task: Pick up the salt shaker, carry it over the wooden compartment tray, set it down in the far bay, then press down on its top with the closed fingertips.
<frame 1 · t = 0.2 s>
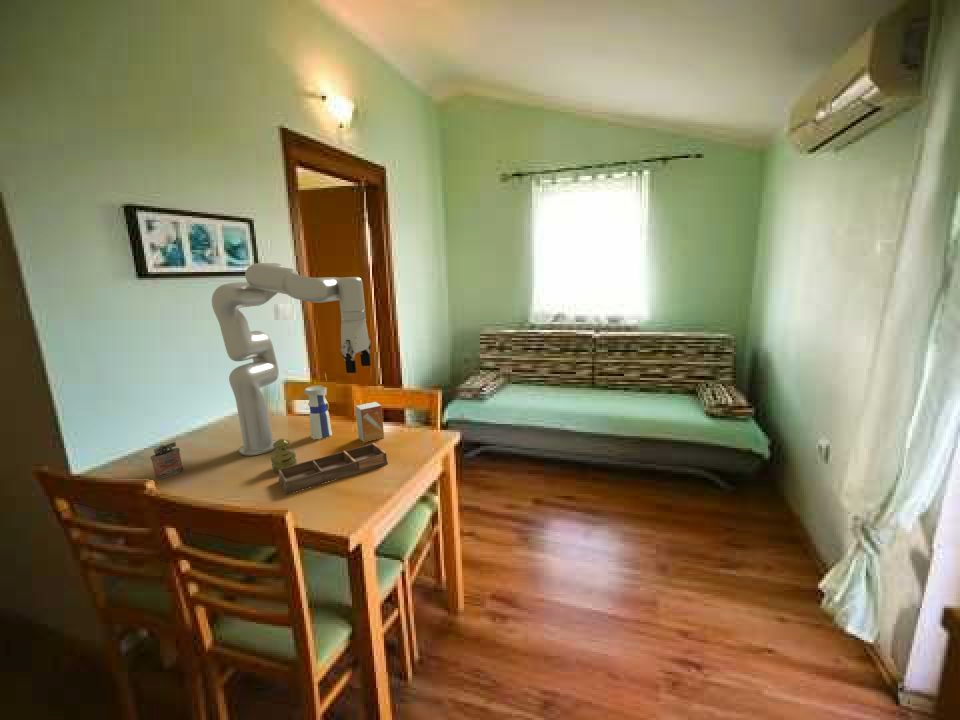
hand: (359, 369, 141), 31 cm above the table, tool pointing down, fingers open, 9 cm apart
lighter: (169, 474, 142), on the table
small box: (371, 438, 165), on the table
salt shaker: (285, 468, 142), on the table
water bottle: (321, 436, 170), on the table
wooden compartment tray: (335, 472, 137), on the table
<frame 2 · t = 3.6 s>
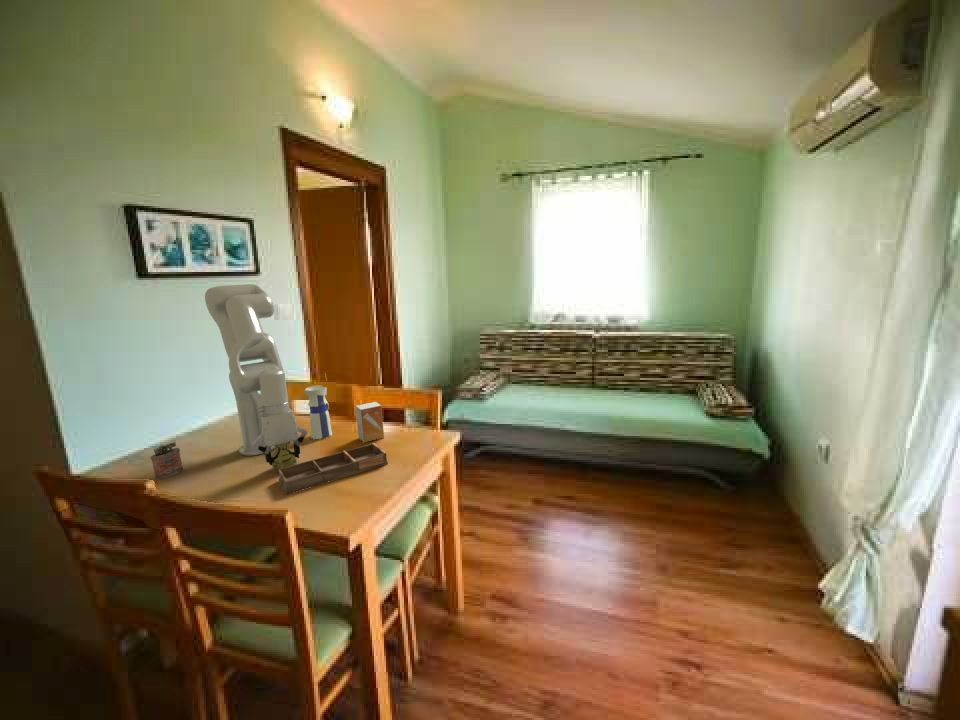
hand: (284, 459, 141), 3 cm above the table, tool pointing down, fingers closed on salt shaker, 7 cm apart
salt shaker: (285, 468, 142), on the table, touching gripper
everything else where it was.
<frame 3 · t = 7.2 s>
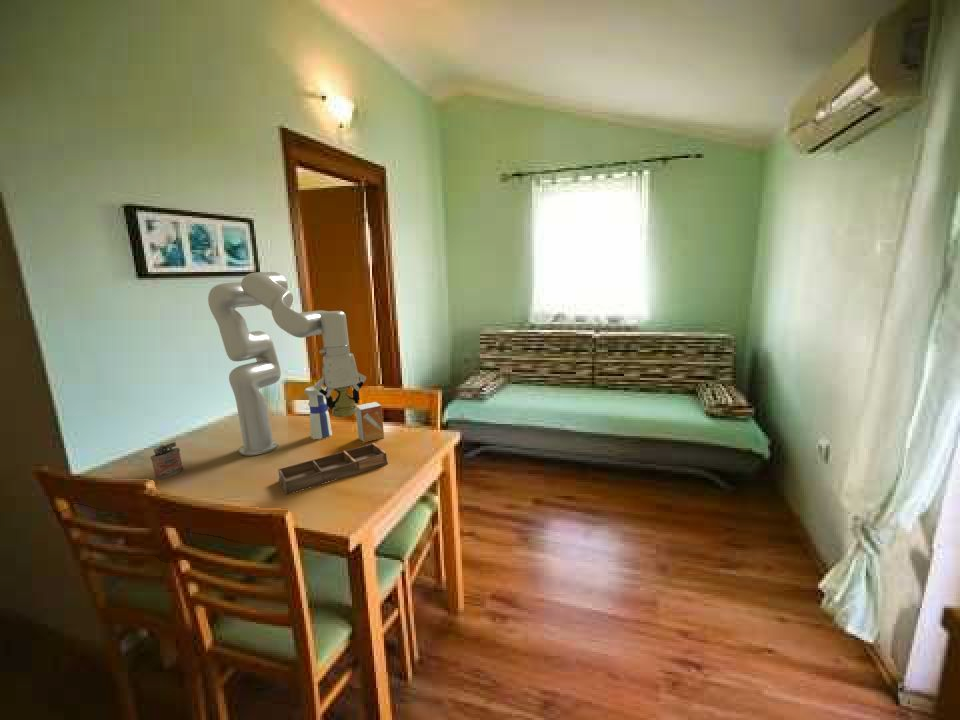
hand: (343, 405, 139), 20 cm above the table, tool pointing down, fingers closed on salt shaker, 7 cm apart
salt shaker: (344, 414, 139), point 17 cm above the table, touching gripper
everything else where it was.
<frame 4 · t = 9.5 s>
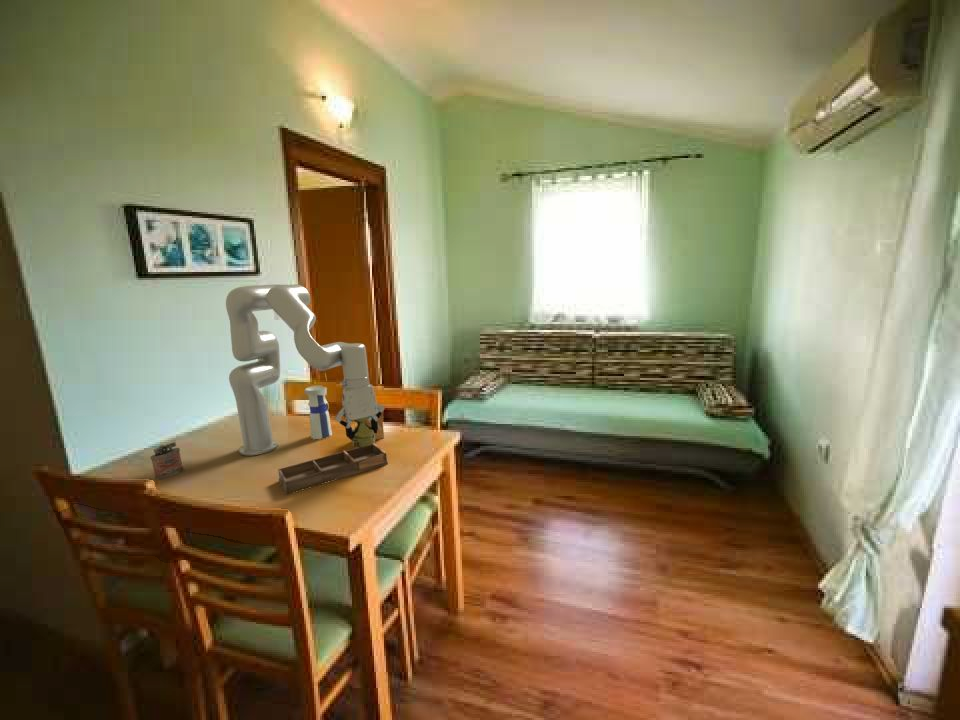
hand: (362, 435, 141), 10 cm above the table, tool pointing down, fingers closed on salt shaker, 7 cm apart
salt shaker: (363, 444, 142), point 7 cm above the table, touching gripper
everything else where it was.
when the fingers open (5 cm above the table, at t = 11.1 s): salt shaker drops 1 cm, resting on wooden compartment tray.
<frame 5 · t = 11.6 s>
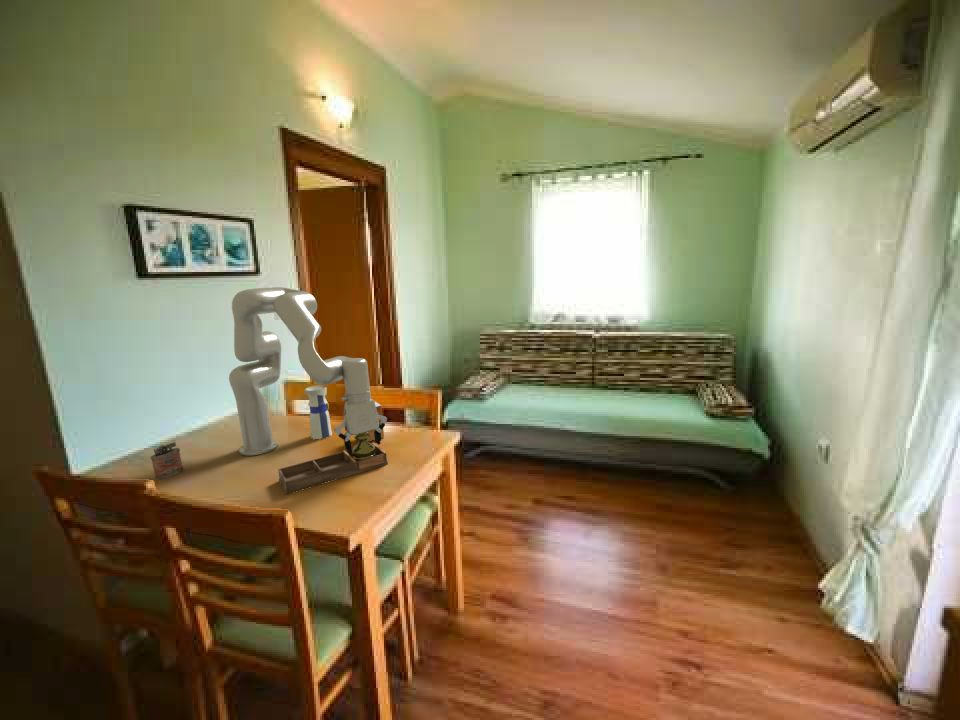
hand: (363, 447, 142), 6 cm above the table, tool pointing down, fingers open, 9 cm apart
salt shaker: (364, 461, 143), point 1 cm above the table, touching wooden compartment tray
everything else where it was.
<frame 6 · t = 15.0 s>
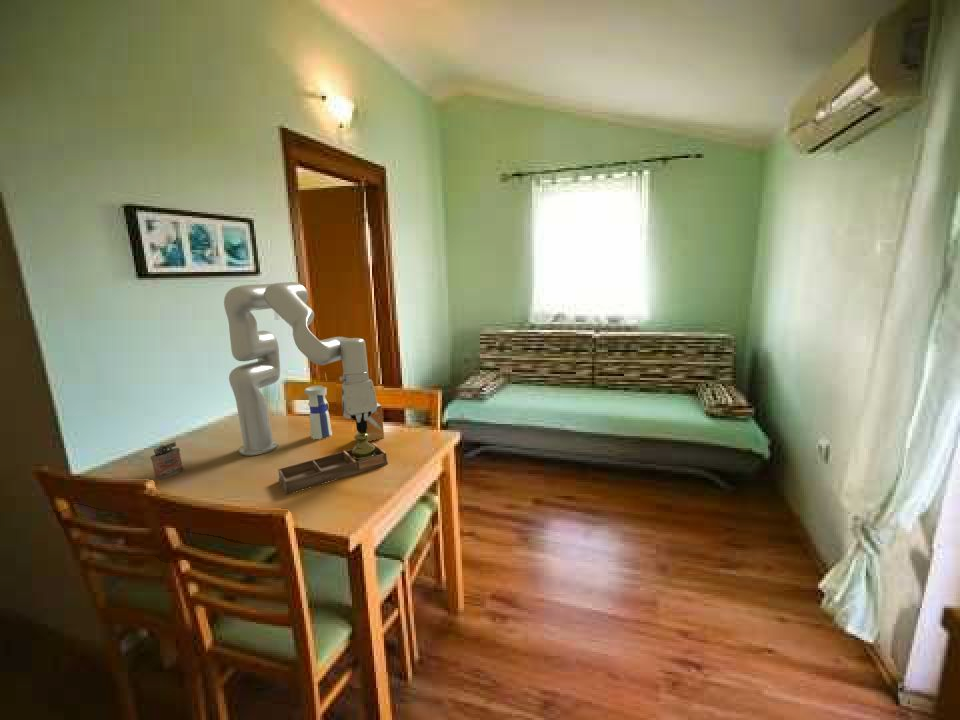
hand: (362, 432, 141), 11 cm above the table, tool pointing down, fingers closed
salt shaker: (364, 461, 143), point 1 cm above the table, touching gripper, wooden compartment tray
everything else where it was.
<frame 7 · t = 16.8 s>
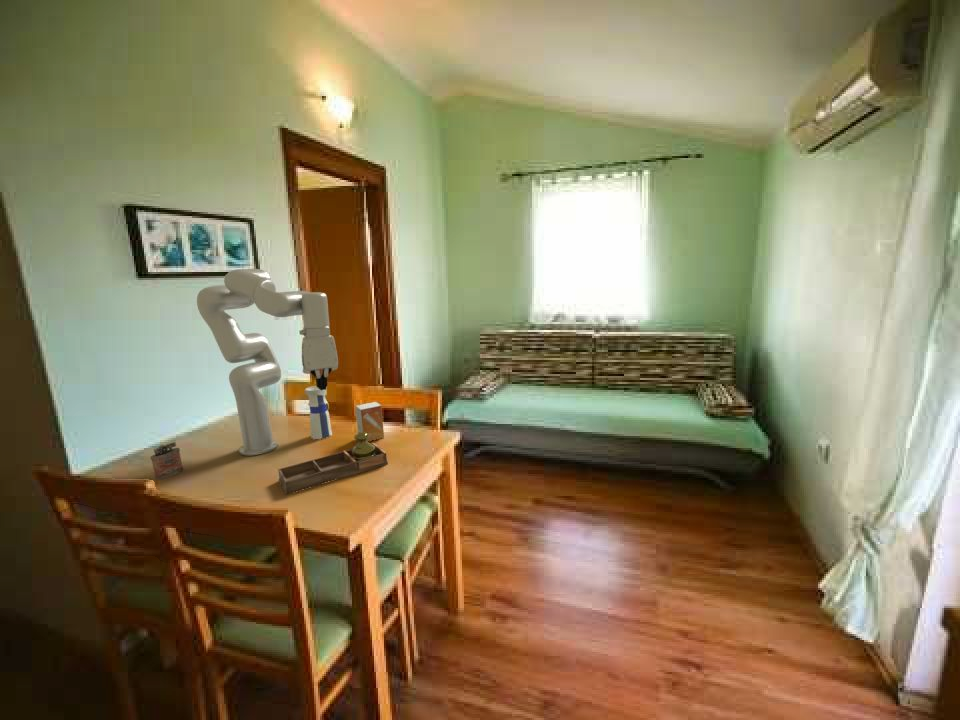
hand: (322, 389, 139), 26 cm above the table, tool pointing down, fingers closed
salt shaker: (364, 461, 143), point 1 cm above the table, touching wooden compartment tray
everything else where it was.
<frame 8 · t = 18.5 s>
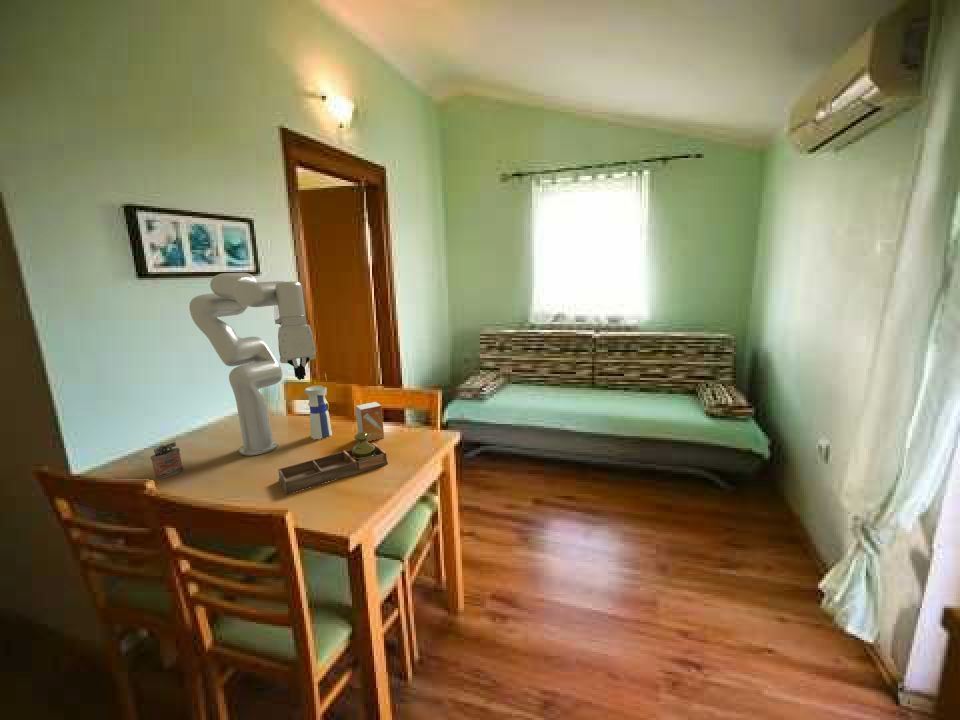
hand: (300, 378, 139), 29 cm above the table, tool pointing down, fingers closed
nothing on the table moved.
at the end: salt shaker 0.1 cm from the target spot on the wooden compartment tray, point 0.6 cm above the wooden compartment tray's base; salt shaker tilted 0°; the gripper is holding nothing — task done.
